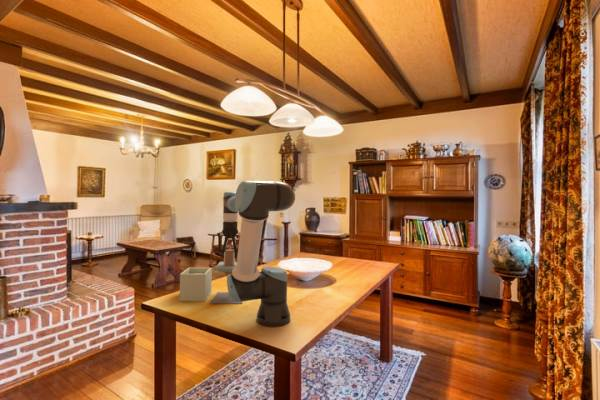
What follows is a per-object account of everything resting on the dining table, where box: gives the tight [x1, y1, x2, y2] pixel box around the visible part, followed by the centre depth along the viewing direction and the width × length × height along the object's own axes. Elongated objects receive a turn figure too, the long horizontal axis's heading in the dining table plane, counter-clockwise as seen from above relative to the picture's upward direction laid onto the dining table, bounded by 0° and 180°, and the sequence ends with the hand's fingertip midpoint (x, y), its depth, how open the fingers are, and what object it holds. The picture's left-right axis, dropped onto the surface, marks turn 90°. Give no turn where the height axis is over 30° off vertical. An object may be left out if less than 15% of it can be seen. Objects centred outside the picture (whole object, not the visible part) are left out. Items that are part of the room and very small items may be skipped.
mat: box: [209, 291, 243, 305], centre depth 159 cm, size 16×16×1 cm
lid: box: [213, 248, 237, 273], centre depth 158 cm, size 13×13×10 cm
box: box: [179, 267, 213, 302], centre depth 160 cm, size 13×13×14 cm
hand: (229, 264), depth 158 cm, fingers closed on lid, 4 cm apart
